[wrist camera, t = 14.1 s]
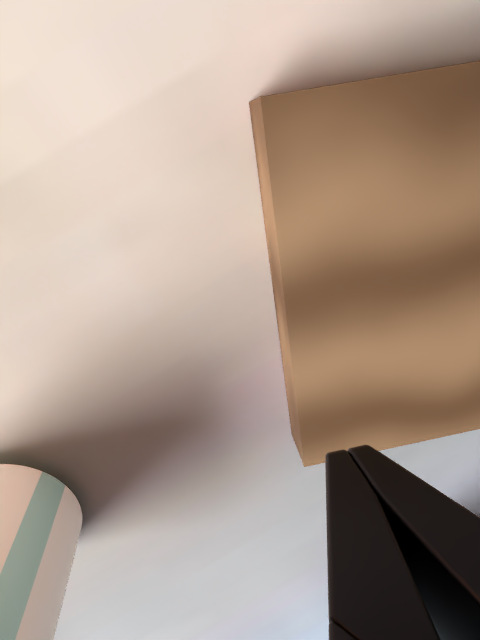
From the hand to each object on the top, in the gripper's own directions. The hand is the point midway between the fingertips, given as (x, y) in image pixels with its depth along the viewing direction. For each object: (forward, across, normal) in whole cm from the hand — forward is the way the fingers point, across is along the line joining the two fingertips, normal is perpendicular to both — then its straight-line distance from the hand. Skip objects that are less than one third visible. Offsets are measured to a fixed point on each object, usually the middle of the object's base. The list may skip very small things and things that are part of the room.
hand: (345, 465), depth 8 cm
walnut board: (+12, -7, +1) cm, 14 cm away
